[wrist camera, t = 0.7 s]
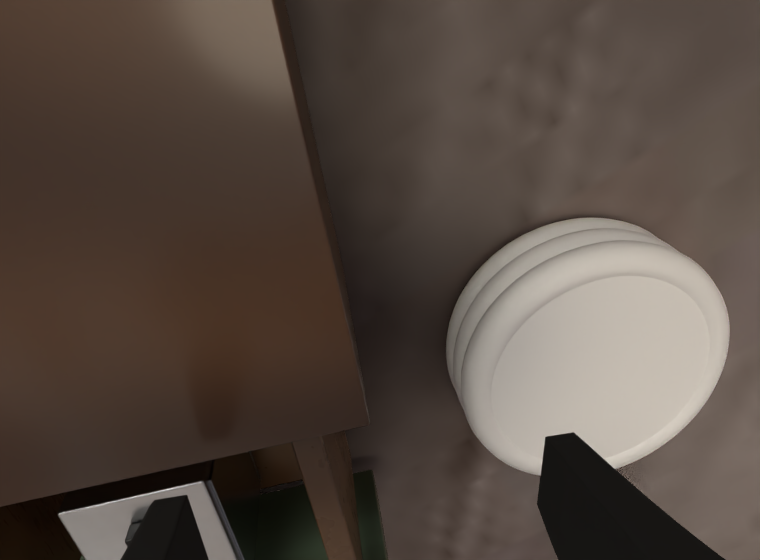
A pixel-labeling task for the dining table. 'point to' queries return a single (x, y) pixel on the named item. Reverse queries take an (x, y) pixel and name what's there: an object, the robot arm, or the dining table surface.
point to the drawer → (275, 518)
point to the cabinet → (161, 244)
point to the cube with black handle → (198, 481)
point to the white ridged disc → (585, 342)
